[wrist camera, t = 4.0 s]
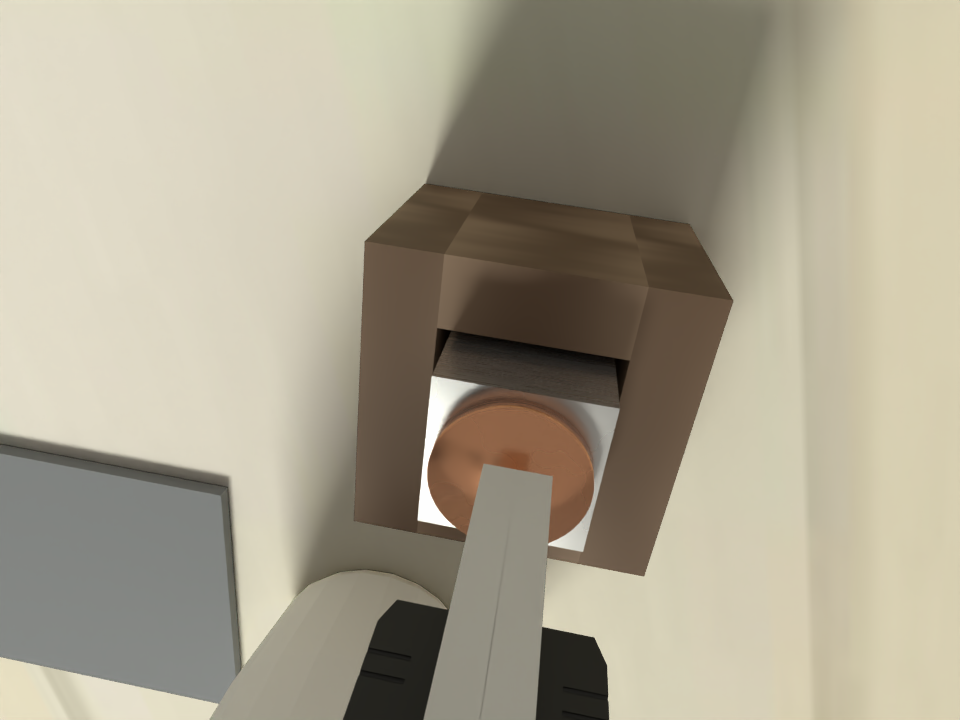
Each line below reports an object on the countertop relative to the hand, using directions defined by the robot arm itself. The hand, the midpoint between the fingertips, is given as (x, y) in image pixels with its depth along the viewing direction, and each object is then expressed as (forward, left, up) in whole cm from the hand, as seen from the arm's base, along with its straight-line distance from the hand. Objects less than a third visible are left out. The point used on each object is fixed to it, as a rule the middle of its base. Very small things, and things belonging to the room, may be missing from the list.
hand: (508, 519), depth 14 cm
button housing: (0, 0, -11) cm, 11 cm away
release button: (0, 0, -7) cm, 7 cm away
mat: (-20, -18, -11) cm, 29 cm away
